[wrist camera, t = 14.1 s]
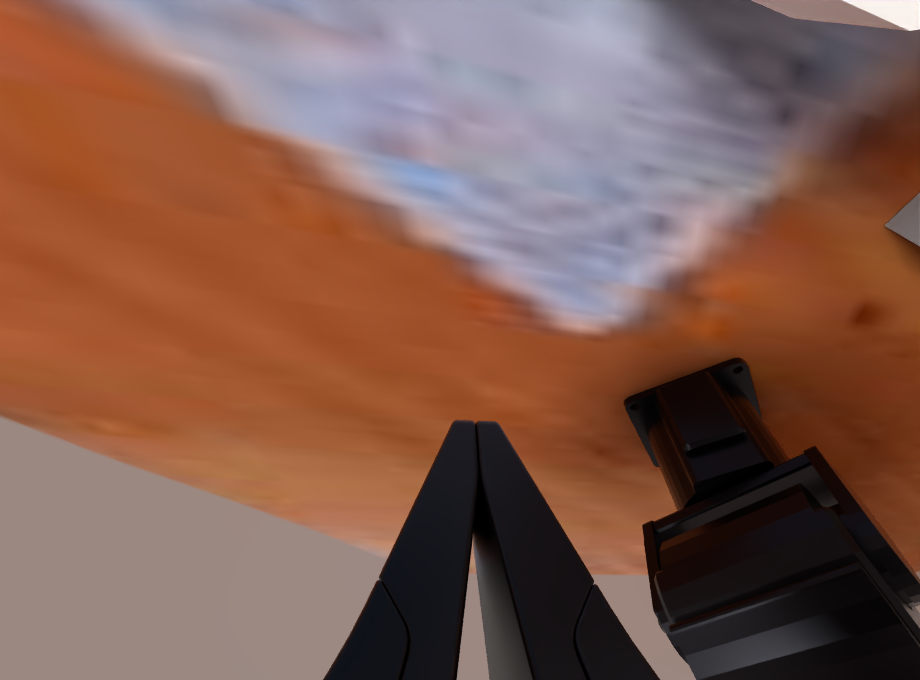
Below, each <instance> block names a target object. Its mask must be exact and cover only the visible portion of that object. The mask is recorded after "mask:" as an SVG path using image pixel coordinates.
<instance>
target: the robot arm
mask: <svg viewBox="0 0 920 680" xmlns="http://www.w3.org/2000/svg"><path fill="white" fill-rule="evenodd" d="M736 367H737V368H736ZM734 368H735V369H734ZM633 404H635V405H633ZM624 406H625V409H626V411H627V413H628V415H629V417H630V419H631V421H632V423H633V425H634V427H635V429H636V431H637V433H638V435H639V437H640V439H641V441H642V443H643V445H644V446H645V448H646V450H647V452H648V454H649V456H650V458H651V460H652V462H653V464H654V465H655V466H656V467H660V469H661V471H662V474H663V476H664V479H665V481H666V483H667V486H668V488H669V491H670V493H671V496H672V498H673V501H674V503H675V505H676V508H677V510H678V511H676V512H674V513H672V514H670V515H667V516H665V517H663V518H661V519H659V520H656V521H650V522H647V523H645V524H643V525H642V527H643V534H644V546H645V553H646V561H647V568H648V575H649V582H650V590H651V597H652V604H653V610H654V612H655V614H656V616H657V618H658V622H659V625H660V627H661V629H662V631H663V632H665V633H666V634H667V636H668V638H669V640H670V641H671V643H672V645H673V646H674V648H675V649H676V651H677V652H678V653H679V655H680V656H681V657H682V658H683V659H684V660H685V661H686V662H687V663H688V664H689V666H690V668H691V670H692V672H693V674H694V676H695V678H696V680H920V613H919V612H918V611H917V609H916V608H915V606H918V605H920V579H919V577H918V576H917V575H916V573H915V572H914V570H913V569H912V568H911V566H910V565H909V563H908V562H907V561H906V559H905V558H904V556H903V555H902V554H901V552H900V551H899V549H898V548H897V547H896V545H895V544H894V542H893V541H892V539H891V538H890V537H889V535H888V534H887V533H886V532H885V530H884V529H883V528H882V526H881V525H880V524H879V523H878V521H877V520H876V519H875V517H874V516H873V515H872V514H871V512H870V511H869V510H868V509H867V507H866V506H865V505H864V503H863V502H862V501H861V500H860V498H859V497H858V496H857V494H856V493H855V492H854V491H853V489H852V488H851V487H850V486H849V485H848V484H847V482H846V481H845V480H844V479H843V478H842V477H841V475H840V474H839V473H838V472H837V471H836V469H835V468H834V467H833V466H832V465H831V464H830V462H829V461H828V460H827V459H826V458H825V457H824V455H823V454H822V453H821V452H820V451H819V449H818V448H817V447H816V446H813V447H811V448H809V449H807V450H805V451H803V452H804V454H801V455H799V456H797V457H795V458H793V459H789V457H788V456H787V454H786V453H785V451H784V450H783V449H782V447H781V446H780V444H779V443H778V441H777V440H776V438H775V437H774V436H773V434H772V433H771V431H770V430H769V428H768V427H767V425H766V424H765V422H764V421H763V420H762V417H761V413H760V409H759V405H758V402H757V398H756V394H755V390H754V387H753V383H752V379H751V375H750V372H749V368H748V366H747V364H746V363H745V361H744V360H743V359H741V358H734V359H731V360H728V361H725V362H723V363H720V364H717V365H714V366H712V367H709V368H706V369H704V370H701V371H698V372H695V373H693V374H690V375H687V376H685V377H682V378H679V379H676V380H674V381H671V382H668V383H665V384H663V385H660V386H657V387H655V388H652V389H649V390H646V391H644V392H641V393H638V394H635V395H633V396H630V397H628V398H627V399H626V400H625V401H624ZM472 539H473V546H474V555H475V563H476V571H477V579H478V587H479V595H480V604H481V612H482V620H483V629H484V637H485V645H486V653H487V661H488V670H489V678H490V680H660V679H659V678H658V676H657V675H656V673H655V672H654V670H653V669H652V668H651V666H650V665H649V663H648V662H647V661H646V659H645V658H644V656H643V655H642V654H641V652H640V651H639V650H638V648H637V647H636V645H635V644H634V643H633V641H632V640H631V638H630V637H629V635H628V633H627V632H626V630H625V629H624V627H623V626H622V624H621V623H620V621H619V619H618V618H617V616H616V615H615V614H614V612H613V610H612V609H611V607H610V605H609V604H608V602H607V601H606V599H605V597H604V596H603V594H602V592H601V591H600V589H599V587H598V586H597V585H596V584H594V585H593V583H594V580H593V578H592V576H591V575H590V573H589V571H588V570H587V568H586V566H585V565H584V563H583V561H582V560H581V558H580V556H579V555H578V553H577V551H576V550H575V548H574V547H573V545H572V543H571V542H570V540H569V538H568V537H567V535H566V533H565V532H564V530H563V528H562V527H561V525H560V524H559V522H558V520H557V519H556V517H555V515H554V514H553V512H552V510H551V509H550V507H549V505H548V504H547V502H546V500H545V499H544V497H543V496H542V494H541V492H540V491H539V489H538V487H537V486H536V484H535V482H534V481H533V479H532V477H531V476H530V474H529V473H528V471H527V469H526V468H525V466H524V464H523V463H522V461H521V459H520V458H519V456H518V454H517V453H516V451H515V450H514V448H513V446H512V445H511V443H510V441H509V440H508V438H507V436H506V435H505V433H504V431H503V430H502V428H501V426H500V425H499V424H498V423H497V422H495V421H478V422H476V424H475V422H474V421H468V420H455V421H454V422H453V423H452V425H451V427H450V429H449V431H448V433H447V435H446V437H445V439H444V441H443V444H442V446H441V448H440V450H439V452H438V454H437V456H436V458H435V460H434V462H433V464H432V467H431V469H430V471H429V473H428V475H427V477H426V479H425V481H424V483H423V485H422V488H421V490H420V492H419V494H418V496H417V498H416V500H415V502H414V504H413V506H412V508H411V511H410V513H409V515H408V517H407V519H406V521H405V523H404V525H403V527H402V529H401V531H400V534H399V536H398V538H397V540H396V542H395V544H394V546H393V548H392V550H391V552H390V554H389V557H388V559H387V561H386V563H385V565H384V567H383V569H382V571H381V574H380V576H379V580H378V581H376V583H375V585H374V588H373V589H372V591H371V594H370V596H369V598H368V600H367V602H366V604H365V606H364V608H363V610H362V612H361V614H360V616H359V617H358V619H357V621H356V623H355V626H354V627H353V629H352V631H351V633H350V635H349V637H348V638H347V640H346V642H345V644H344V645H343V647H342V649H341V650H340V652H339V654H338V656H337V658H336V659H335V661H334V662H333V664H332V666H331V668H330V669H329V671H328V673H327V674H326V676H325V678H324V679H323V680H456V679H457V670H458V662H459V653H460V644H461V636H462V626H463V618H464V609H465V600H466V592H467V582H468V574H469V565H470V557H471V548H472Z"/></svg>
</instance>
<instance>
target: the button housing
mask: <svg viewBox="0 0 920 680" xmlns="http://www.w3.org/2000/svg"><path fill="white" fill-rule="evenodd" d="M884 226H886V227H887V228H889V229H891V230H892V231H894V232H896V233H897V234H899V235H901V236H902V237H904V238H906V239H907V240H909V241H911V242H912V243H914V244H916V245H917V246H919V247H920V193H919V194H918V195H916V196H915V197H914V198H913V199H912V200H911V201H910V202H909V203H908V204H907V205H906V206H905V207H904V208H903V209H901V210H900V211H899V212H898V213H897V214H896V215H895V216H894V217H893V218H892V219H891V220H890V221H889V222H887V223H886V224H885V225H884Z"/></svg>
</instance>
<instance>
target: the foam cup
mask: <svg viewBox="0 0 920 680" xmlns="http://www.w3.org/2000/svg"><path fill="white" fill-rule="evenodd" d="M751 1H754V2H756V3H758V4H761V5H763V6H765V7H768V8H770V9H772V10H774V11H777V12H779V13H781V14H784V15H786V16H788V17H790V18H795V19H804V20H813V21H822V22H832V23H841V24H850V25H859V26H869V27H878V28H887V29H896V30H906V31H912V30H918V29H920V0H751Z"/></svg>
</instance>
